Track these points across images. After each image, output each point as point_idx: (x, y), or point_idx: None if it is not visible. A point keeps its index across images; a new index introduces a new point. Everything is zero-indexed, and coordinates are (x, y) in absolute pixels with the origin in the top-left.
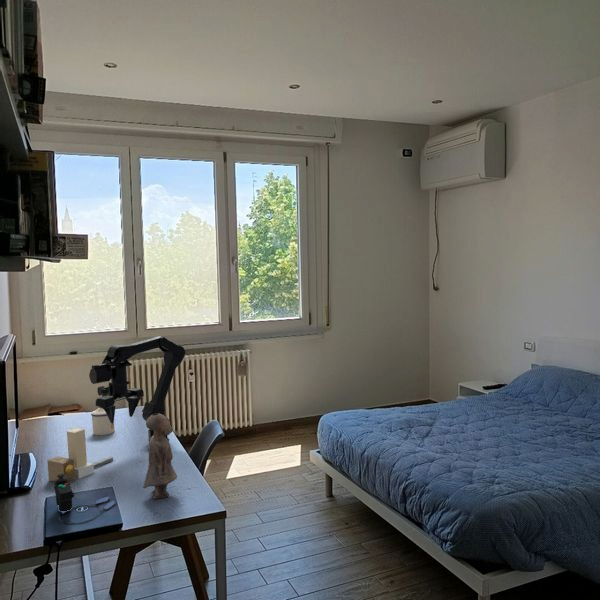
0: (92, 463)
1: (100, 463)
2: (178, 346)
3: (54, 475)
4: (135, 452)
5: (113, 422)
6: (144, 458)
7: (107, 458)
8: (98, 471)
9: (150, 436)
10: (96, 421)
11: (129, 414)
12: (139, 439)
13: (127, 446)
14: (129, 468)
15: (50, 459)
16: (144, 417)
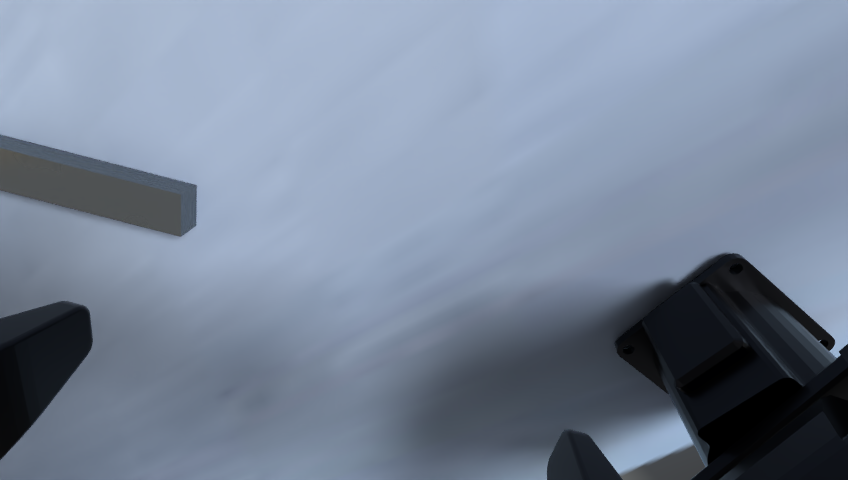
0: (7, 152)
1: (62, 201)
2: None
3: None
4: (401, 293)
5: (78, 362)
6: (310, 400)
7: (144, 206)
8: (7, 241)
9: (657, 347)
10: None
11: (576, 463)
12: (774, 143)
13: (538, 143)
14: (142, 391)
15: None
16: (795, 472)
